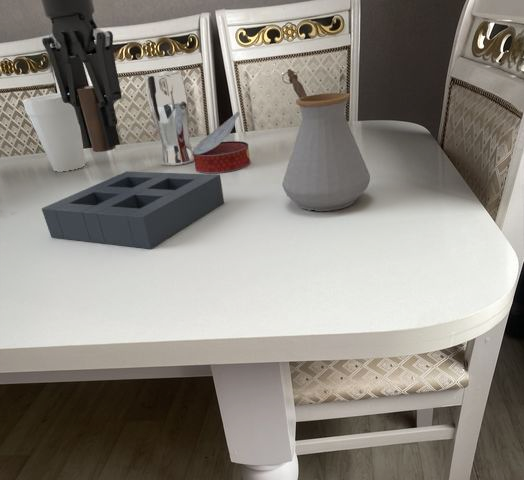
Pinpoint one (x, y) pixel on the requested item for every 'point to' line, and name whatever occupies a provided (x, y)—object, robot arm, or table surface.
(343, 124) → the coffee pot
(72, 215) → the pad base
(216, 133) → the canned food
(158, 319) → the table surface
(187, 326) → the table surface
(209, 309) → the table surface
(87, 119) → the peg
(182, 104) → the beer glass
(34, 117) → the foam cup
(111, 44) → the robot arm
